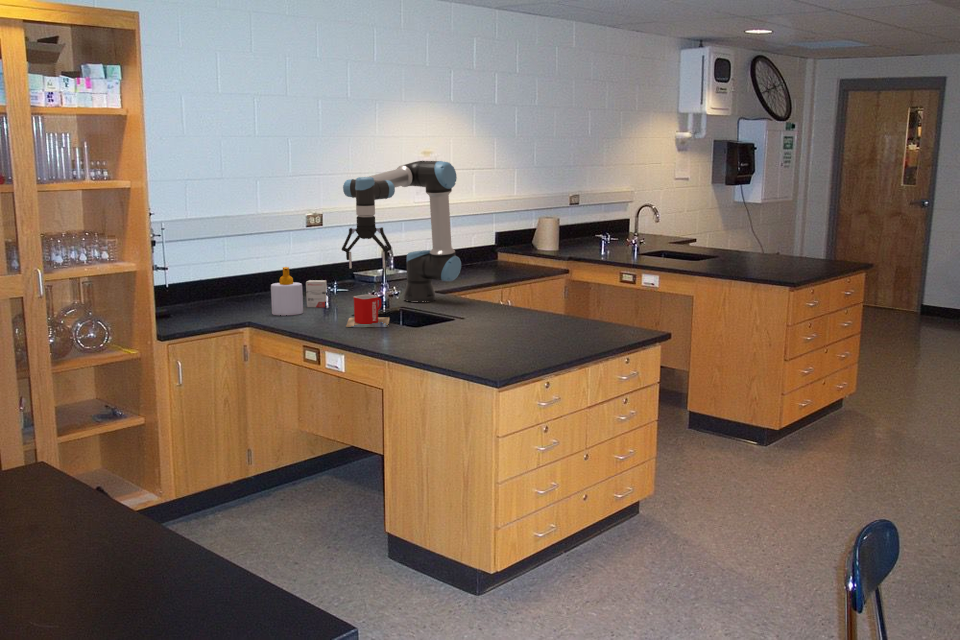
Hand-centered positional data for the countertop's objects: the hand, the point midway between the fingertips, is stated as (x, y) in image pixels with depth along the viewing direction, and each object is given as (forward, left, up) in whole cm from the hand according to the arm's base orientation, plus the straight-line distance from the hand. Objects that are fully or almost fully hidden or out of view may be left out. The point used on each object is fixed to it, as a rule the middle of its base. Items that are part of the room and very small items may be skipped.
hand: (367, 267), depth 382 cm
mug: (-1, 0, -23) cm, 23 cm away
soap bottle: (+36, -21, -23) cm, 48 cm away
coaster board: (0, 0, -23) cm, 23 cm away
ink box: (+25, -37, -23) cm, 50 cm away
